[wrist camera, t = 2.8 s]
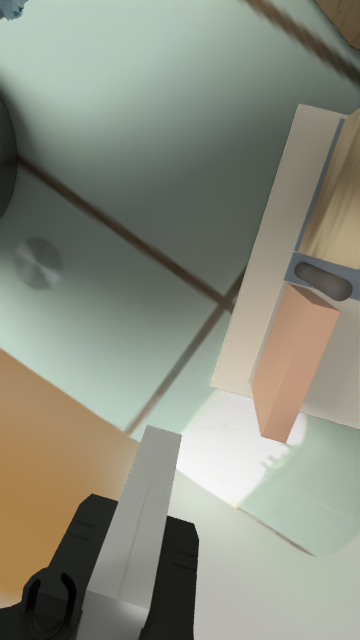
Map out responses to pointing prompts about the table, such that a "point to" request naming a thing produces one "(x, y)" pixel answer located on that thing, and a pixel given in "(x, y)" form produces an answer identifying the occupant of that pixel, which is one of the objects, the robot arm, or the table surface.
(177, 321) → the table surface
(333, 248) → the fixed fence panel
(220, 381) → the card
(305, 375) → the hinged fence panel
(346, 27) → the wooden block
